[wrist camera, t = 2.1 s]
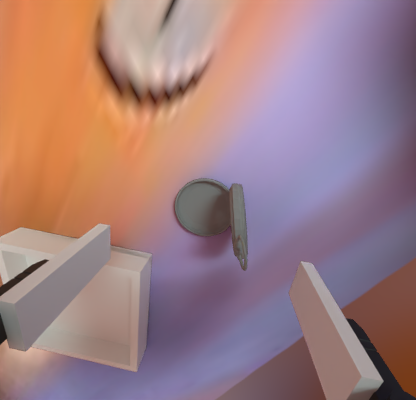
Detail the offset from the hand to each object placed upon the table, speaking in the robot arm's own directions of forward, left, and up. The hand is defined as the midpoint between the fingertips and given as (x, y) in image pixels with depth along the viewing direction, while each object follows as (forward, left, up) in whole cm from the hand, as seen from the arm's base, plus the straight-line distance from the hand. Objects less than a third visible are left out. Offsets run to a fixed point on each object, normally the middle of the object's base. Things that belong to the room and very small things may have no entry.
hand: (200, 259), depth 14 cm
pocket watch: (0, 0, -10) cm, 10 cm away
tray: (+16, +17, -9) cm, 25 cm away
